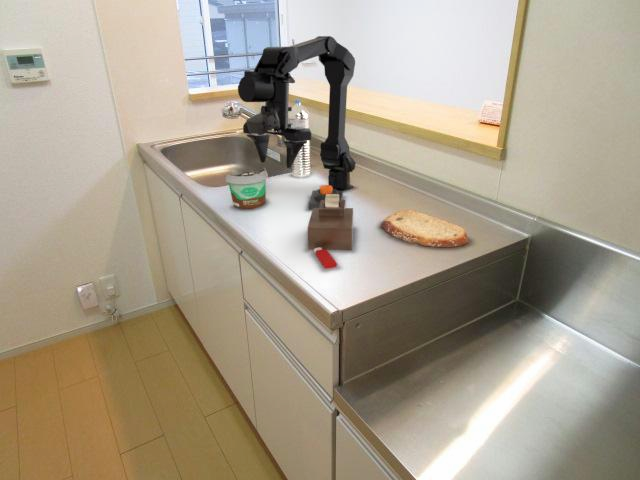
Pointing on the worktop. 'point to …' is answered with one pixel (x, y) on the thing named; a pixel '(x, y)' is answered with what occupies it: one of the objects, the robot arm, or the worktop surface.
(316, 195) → the power block
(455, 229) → the bread slice
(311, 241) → the stand
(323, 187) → the power button
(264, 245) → the worktop surface
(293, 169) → the water bottle
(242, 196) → the food container
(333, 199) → the beige block
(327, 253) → the lighter
